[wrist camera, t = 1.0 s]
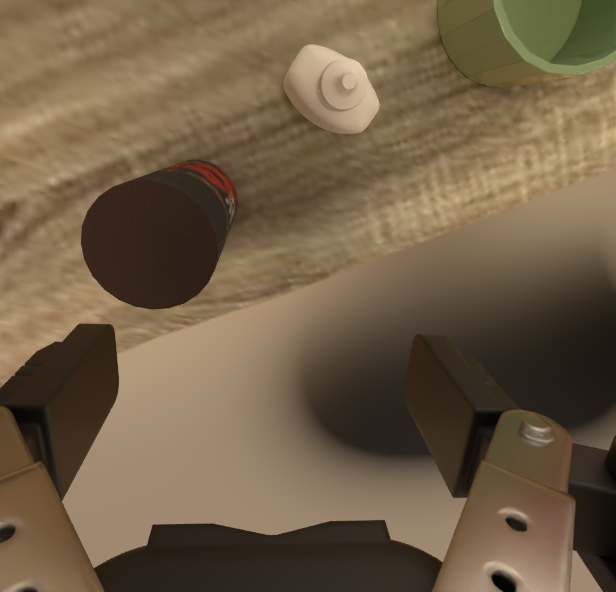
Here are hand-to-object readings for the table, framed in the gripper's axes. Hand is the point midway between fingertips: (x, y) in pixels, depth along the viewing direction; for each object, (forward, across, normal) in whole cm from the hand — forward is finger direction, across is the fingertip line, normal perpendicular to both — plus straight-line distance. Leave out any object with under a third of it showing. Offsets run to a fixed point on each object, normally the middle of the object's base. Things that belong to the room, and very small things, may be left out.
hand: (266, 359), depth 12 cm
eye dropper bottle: (+25, -4, -8) cm, 26 cm away
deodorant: (+24, +5, 0) cm, 25 cm away
